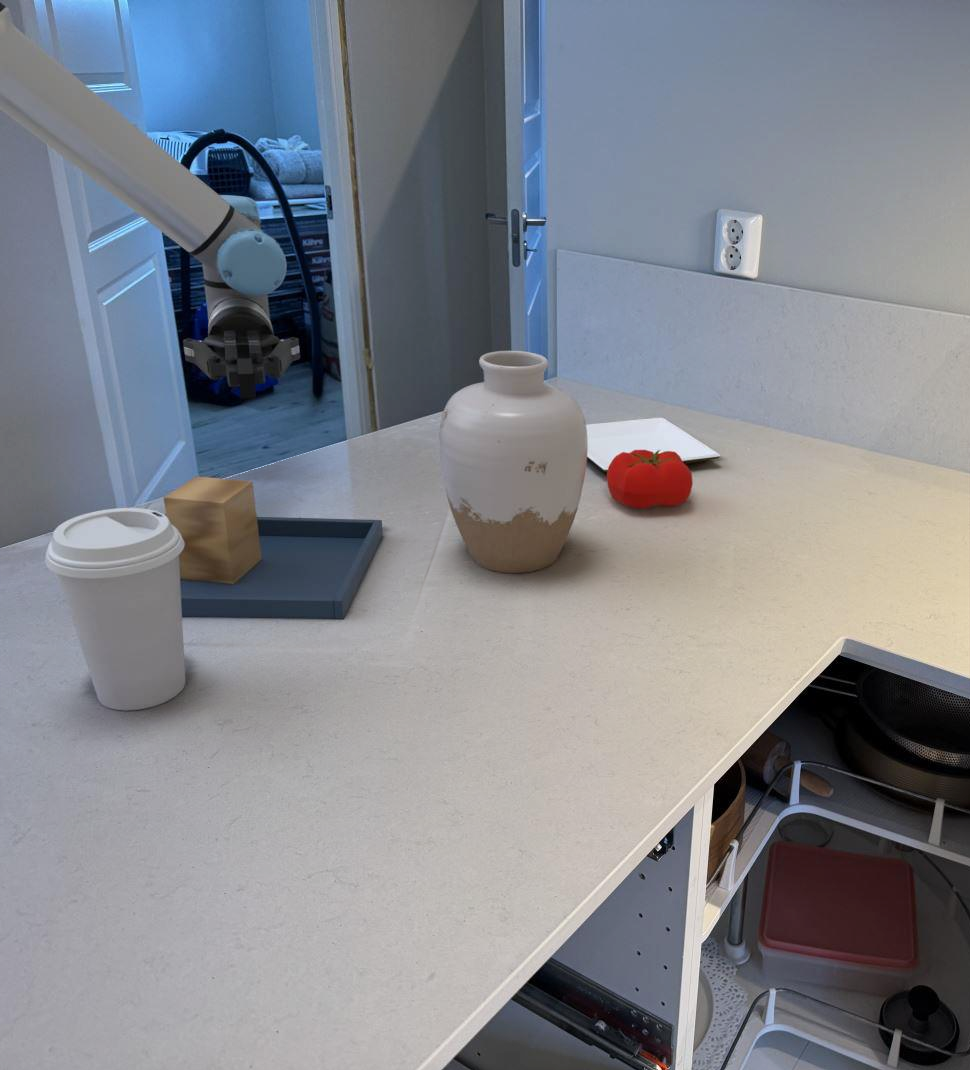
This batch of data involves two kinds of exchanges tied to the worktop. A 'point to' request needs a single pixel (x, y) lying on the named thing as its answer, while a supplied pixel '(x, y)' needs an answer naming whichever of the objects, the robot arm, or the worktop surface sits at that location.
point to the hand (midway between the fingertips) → (247, 385)
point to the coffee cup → (124, 602)
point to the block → (215, 528)
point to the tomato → (649, 479)
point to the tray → (293, 572)
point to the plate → (643, 441)
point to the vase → (513, 463)
